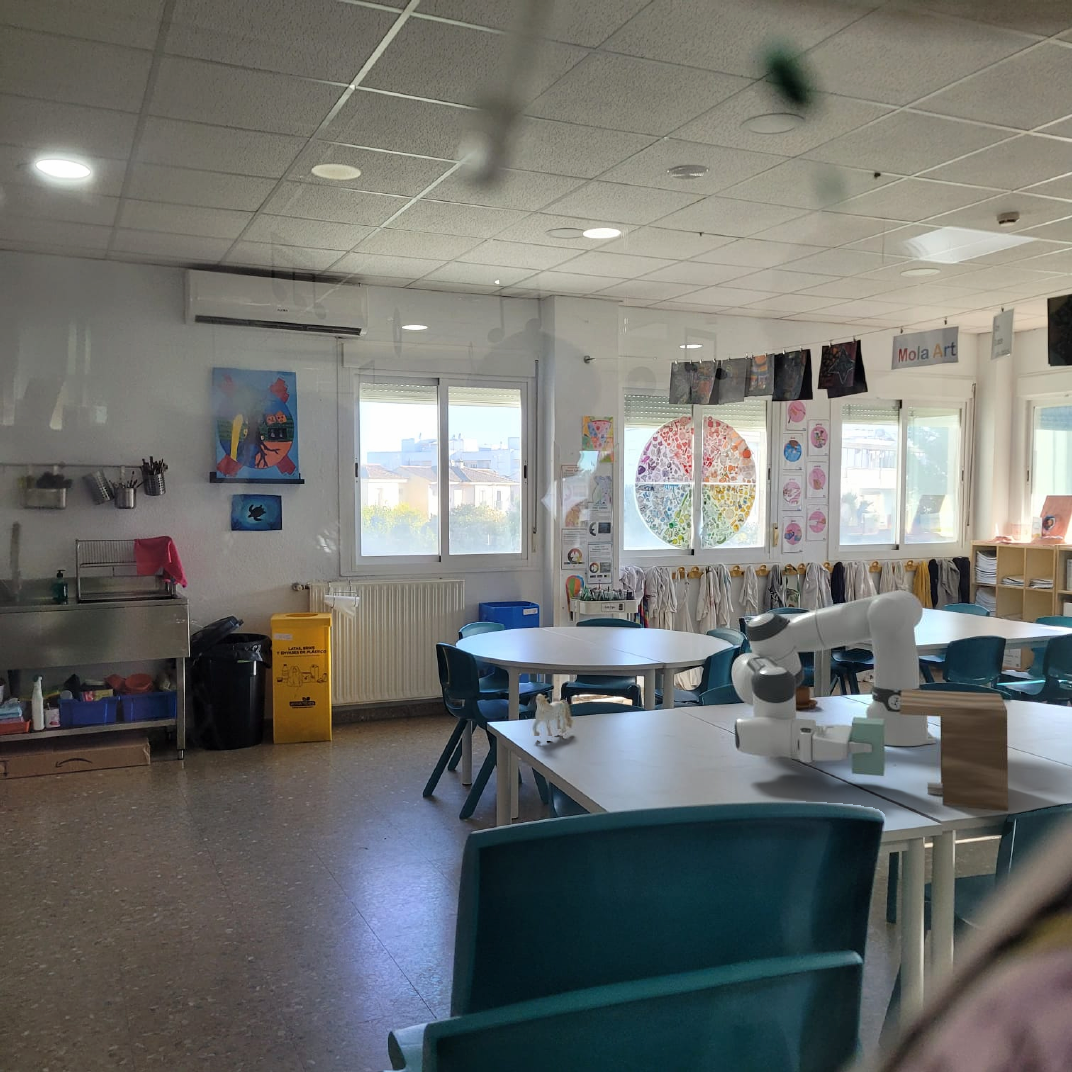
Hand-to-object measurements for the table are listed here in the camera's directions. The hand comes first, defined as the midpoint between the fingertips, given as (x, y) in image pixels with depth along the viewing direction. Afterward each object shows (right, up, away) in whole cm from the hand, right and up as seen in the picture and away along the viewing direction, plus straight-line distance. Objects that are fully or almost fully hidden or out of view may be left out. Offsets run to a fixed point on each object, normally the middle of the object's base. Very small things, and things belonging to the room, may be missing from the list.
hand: (872, 743), depth 215 cm
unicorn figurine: (-67, -10, +49) cm, 84 cm away
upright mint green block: (-1, -6, 0) cm, 6 cm away
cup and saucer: (+8, -8, +91) cm, 92 cm away
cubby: (+16, -9, -6) cm, 19 cm away
